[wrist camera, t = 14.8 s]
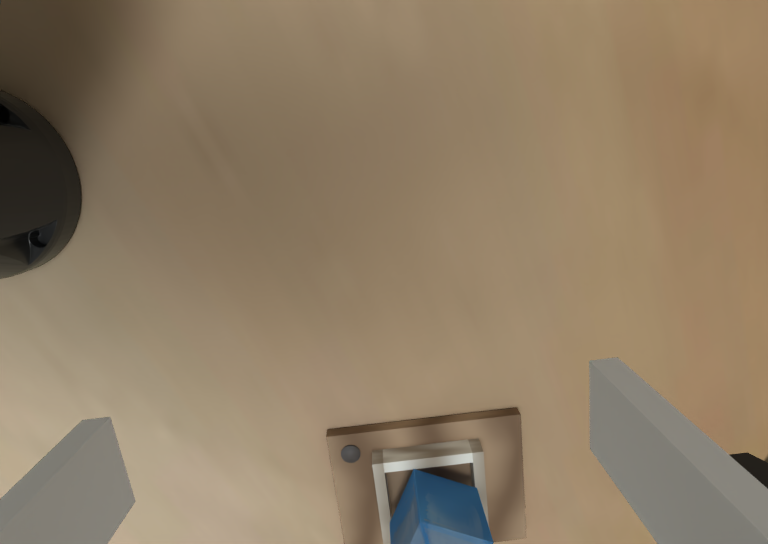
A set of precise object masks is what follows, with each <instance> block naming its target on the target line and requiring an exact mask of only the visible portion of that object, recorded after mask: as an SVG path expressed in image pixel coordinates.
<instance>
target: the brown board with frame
mask: <svg viewBox="0 0 768 544" xmlns="http://www.w3.org/2000/svg"><path fill="white" fill-rule="evenodd" d="M326 438H327V444H328V450H329V456H330V462H331V467H332V473H333V479H334V485H335V491H336V497H337V503H338V509H339V515H340V521H341V527H342V533H343V539H344V544H391V542H390V521H391V519H392V517H393V514H394V512H395V510H396V508H397V505H398V503H399V501H400V499H401V496H402V494H403V492H404V490H405V487H406V485H407V483H408V481H409V478H410V476H411V474H412V472H413V469H416V470H419V471H423V472H426V473H429V474H432V475H436V476H439V477H442V478H446V479H449V480H452V481H455V482H459V483H462V484H465V485H468V486H472V487H475V488H477V490H478V493H479V496H480V499H481V503H482V506H483V509H484V513H485V516H486V519H487V522H488V526H489V529H490V532H491V536H492V539H493V542H500V541H509V540H517V539H526V518H525V497H524V477H523V456H522V435H521V414H520V413H519V411H518V409H517V408H508V409H500V410H491V411H483V412H474V413H465V414H457V415H448V416H440V417H431V418H422V419H414V420H405V421H397V422H388V423H380V424H371V425H362V426H354V427H345V428H337V429H328V430H327V436H326Z"/></svg>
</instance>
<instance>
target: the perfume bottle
mask: <svg viewBox="0 0 768 544" xmlns="http://www.w3.org/2000/svg"><path fill="white" fill-rule="evenodd" d="M390 542H391V544H493V543H494V542H493V539H492V536H491V532H490V529H489V526H488V522H487V519H486V516H485V513H484V509H483V506H482V503H481V499H480V496H479V493H478V490H477V488H475V487H472V486H468V485H465V484H462V483H459V482H455V481H452V480H449V479H446V478H442V477H439V476H436V475H432V474H429V473H426V472H423V471H419V470H416V469H413V472H412V474H411V476H410V478H409V481H408V483H407V485H406V487H405V490H404V492H403V494H402V496H401V499H400V501H399V503H398V505H397V508H396V510H395V512H394V514H393V517H392V519H391V521H390Z"/></svg>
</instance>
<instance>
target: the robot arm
mask: <svg viewBox="0 0 768 544" xmlns="http://www.w3.org/2000/svg"><path fill="white" fill-rule="evenodd" d="M0 3H1V2H0ZM80 205H81V191H80V183H79V178H78V174H77V170H76V167H75V164H74V161H73V159H72V157H71V155H70V152H69V150H68V149H67V147H66V145H65V143H64V142H63V140H62V139H61V137H60V136H59V135H58V133H57V132H56V131H55V129H54V128H53V127H52V126H51V125H50V124H49V123H48V122H47V120H46V119H45V118H43V117H42V116H41V115H40V114H39V113H38V112H37V111H35V110H34V109H33V108H32V107H30V106H29V105H27V104H26V103H24V102H23V101H21V100H20V99H18V98H16V97H14V96H12V95H10V94H8V93H6V92H3V91H0V279H2V278H7V277H11V276H14V275H17V274H20V273H23V272H26V271H28V270H31V269H34V268H36V267H39V266H41V265H42V264H44V263H46V262H48V261H49V260H51V259H52V258H53V257H55V256H56V255H57V254H58V253H59V252H60V251H61V250H62V249H63V248H64V246H65V245H66V244H67V243H68V241H69V239H70V238H71V236H72V234H73V232H74V230H75V227H76V225H77V222H78V218H79V213H80ZM589 370H590V449H591V451H592V452H593V454H594V455H595V456H596V458H597V459H598V461H599V462H600V463H601V465H602V466H603V468H604V469H605V470H606V472H607V473H608V475H609V476H610V477H611V479H612V480H613V482H614V483H615V484H616V486H617V487H618V489H619V490H620V492H621V493H622V494H623V496H624V497H625V499H626V500H627V501H628V503H629V504H630V506H631V507H632V508H633V510H634V511H635V513H636V514H637V515H638V517H639V518H640V520H641V521H642V522H643V524H644V525H645V527H646V528H647V529H648V531H649V532H650V534H651V535H652V536H653V538H654V539H655V541H656V542H657V543H658V544H768V463H767V462H765V461H763V460H761V459H759V458H757V457H755V456H753V455H751V454H749V453H740V454H731V455H729V454H727V453H726V452H725V451H724V450H723V449H722V448H721V447H719V446H718V445H717V444H716V443H715V442H714V441H713V440H711V439H710V438H709V437H708V436H707V435H706V434H705V433H703V432H702V431H701V430H700V429H699V428H698V427H697V426H695V425H694V424H693V423H692V422H691V421H690V420H689V419H687V418H686V417H685V416H684V415H683V414H682V413H681V412H679V411H678V410H677V409H676V408H675V407H674V406H673V405H671V404H670V403H669V402H668V401H667V400H666V399H665V398H663V397H662V396H661V395H660V394H659V393H658V392H657V391H655V390H654V389H653V388H652V387H651V386H650V385H649V384H647V383H646V382H645V381H644V380H643V379H642V378H641V377H639V376H638V375H637V374H636V373H635V372H634V371H633V370H631V369H630V368H629V367H628V366H627V365H626V364H625V363H623V362H622V361H621V360H620V359H619V358H618V357H617V358H608V359H600V360H591V361H589ZM134 503H135V498H134V495H133V491H132V488H131V485H130V481H129V478H128V475H127V471H126V468H125V465H124V461H123V458H122V455H121V451H120V448H119V444H118V441H117V438H116V434H115V431H114V428H113V424H112V421H111V418H110V417H105V418H96V419H87V420H82V421H81V422H80V423H79V424H78V425H77V426H76V427H75V428H74V429H73V430H72V431H71V432H70V433H68V434H67V435H66V436H65V437H64V438H63V439H62V440H61V441H60V442H59V443H58V444H57V445H56V446H55V447H54V448H53V449H52V450H51V451H50V452H49V453H48V454H47V455H46V456H45V457H43V458H42V459H41V460H40V461H39V462H38V463H37V464H36V465H35V466H34V467H33V468H32V469H31V470H30V471H29V472H28V473H27V474H26V475H25V476H24V477H23V478H22V479H21V480H20V481H18V482H17V483H16V484H15V485H14V486H13V487H12V488H11V489H10V490H9V491H8V492H7V493H6V494H5V495H4V496H3V497H2V498H1V499H0V544H108V542H109V541H110V539H111V538H112V536H113V535H114V533H115V532H116V530H117V529H118V527H119V525H120V524H121V522H122V521H123V519H124V518H125V516H126V515H127V513H128V512H129V510H130V509H131V507H132V506H133V504H134Z"/></svg>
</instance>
